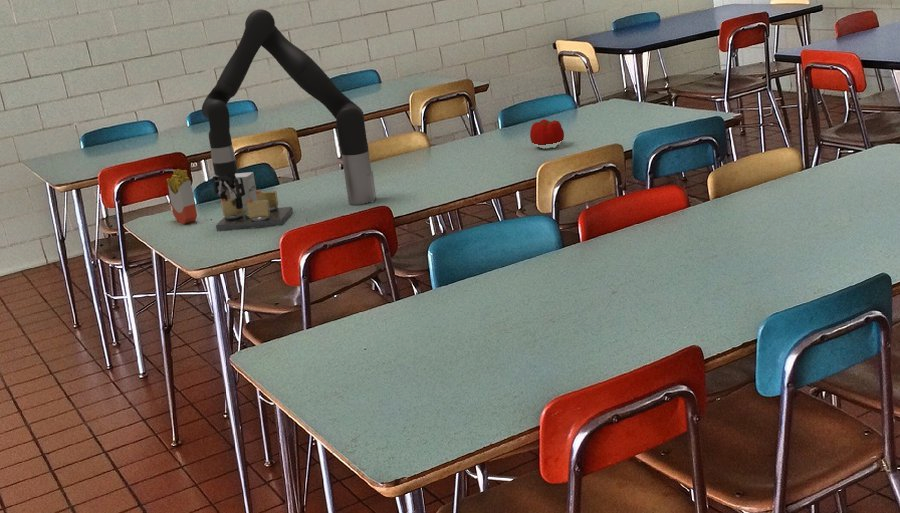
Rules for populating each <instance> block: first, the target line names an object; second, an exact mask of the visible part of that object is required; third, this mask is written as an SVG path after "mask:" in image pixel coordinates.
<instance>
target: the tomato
mask: <svg viewBox="0 0 900 513" xmlns="http://www.w3.org/2000/svg"><path fill="white" fill-rule="evenodd" d="M529 138H530V141H531V144H532V143H534V144H538V145H546V144H553V143H557V142H560V141H562V140H563V141H564V138H565V131H564V128H563V127H562V125H561V122H560V121H559V120H552V121H550V120H547V119H541V120H540V121H536V122H534V123H532V125H531V128H530V132H529Z"/></svg>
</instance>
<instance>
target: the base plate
mask: <svg viewBox="0 0 900 513" xmlns="http://www.w3.org/2000/svg"><path fill="white" fill-rule="evenodd" d="M293 213H294V210H293V206H285V207H284V206H283V207H278V209H277V210H274V211H270V215H269V217H270V218H269V219H267V220H264V221H259V222H253V221H251V218H249V213H248V211H244V213H243V217H241V218H238V219H232V220H227V219H225V216H223V218H222V219H221V220H220V221H219V222H218V223H217V224H216V225H215V228H216V232H219V231H218V230H224V231H233V230H232V229H235V230H242V229H241V228H246V229H252V228H251V227H257V228H266V227H265V226H268V227H276V225H279V226H283V225H284V224H285V223H284V222H287V220H288V219H289V218H290V217H291V215H292V214H293Z"/></svg>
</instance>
